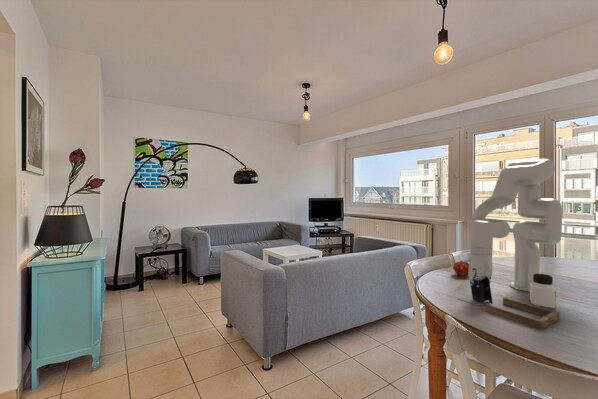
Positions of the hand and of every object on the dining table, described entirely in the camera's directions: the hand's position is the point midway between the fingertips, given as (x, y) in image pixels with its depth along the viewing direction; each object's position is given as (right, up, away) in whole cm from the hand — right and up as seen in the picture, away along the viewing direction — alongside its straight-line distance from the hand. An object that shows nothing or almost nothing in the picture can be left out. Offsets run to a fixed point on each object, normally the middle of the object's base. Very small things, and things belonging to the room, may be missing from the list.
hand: (480, 293), depth 121 cm
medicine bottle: (+24, -4, -1) cm, 24 cm away
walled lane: (+7, -4, -12) cm, 14 cm away
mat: (-1, -3, +2) cm, 4 cm away
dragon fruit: (+13, -3, +38) cm, 40 cm away
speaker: (0, -3, 0) cm, 3 cm away
